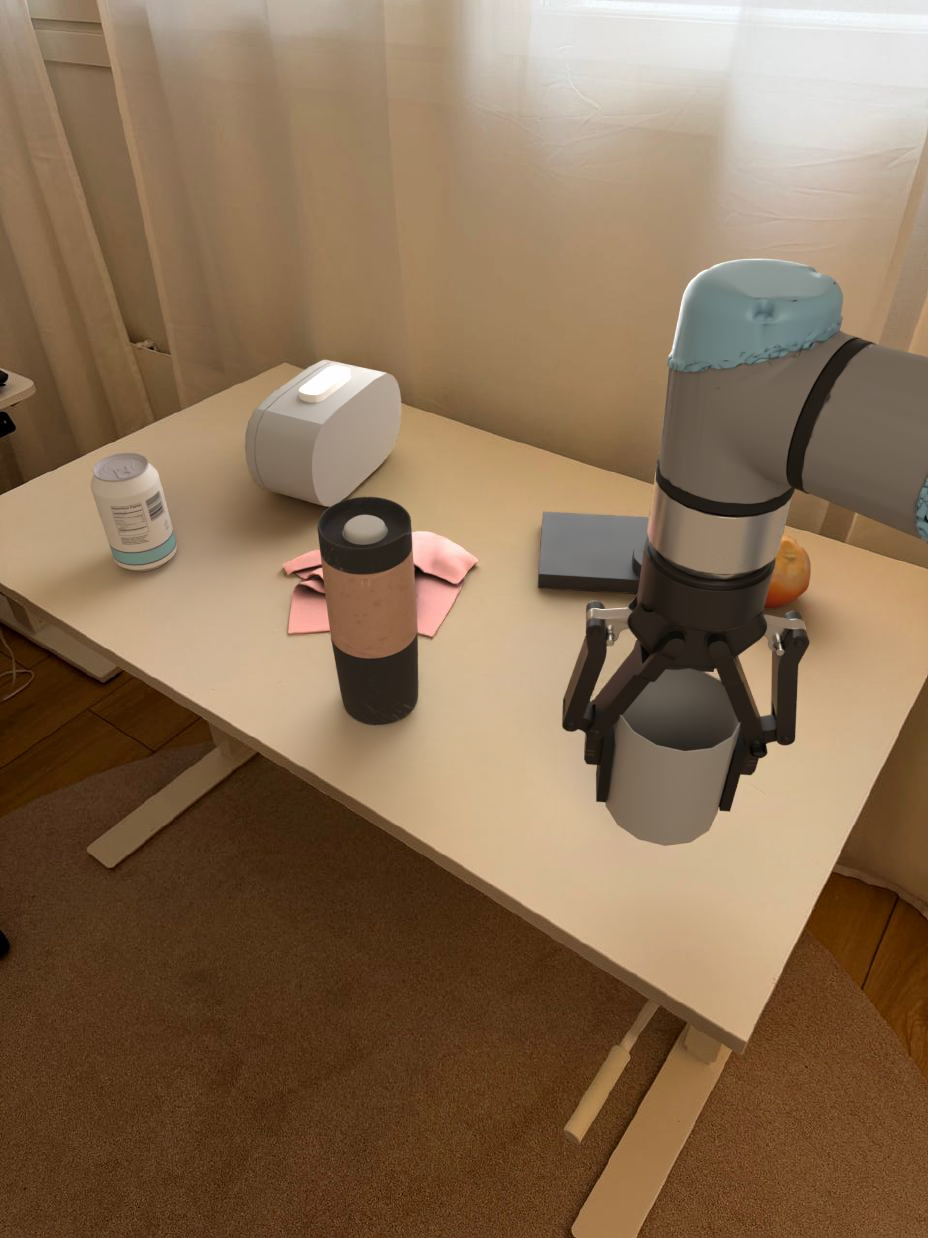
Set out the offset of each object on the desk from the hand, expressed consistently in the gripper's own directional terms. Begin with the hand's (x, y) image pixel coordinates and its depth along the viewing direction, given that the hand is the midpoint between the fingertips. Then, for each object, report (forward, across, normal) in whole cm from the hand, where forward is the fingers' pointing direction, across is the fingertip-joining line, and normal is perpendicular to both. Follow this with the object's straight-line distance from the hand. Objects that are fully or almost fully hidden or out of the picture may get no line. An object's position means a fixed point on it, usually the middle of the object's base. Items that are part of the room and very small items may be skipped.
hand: (661, 792), depth 67 cm
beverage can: (+6, +54, -33) cm, 64 cm away
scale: (+7, +2, -38) cm, 39 cm away
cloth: (+7, +28, -31) cm, 43 cm away
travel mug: (+7, +24, -14) cm, 29 cm away
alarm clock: (+6, +37, -52) cm, 65 cm away
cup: (+1, 0, 0) cm, 1 cm away
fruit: (+7, -14, -33) cm, 37 cm away
